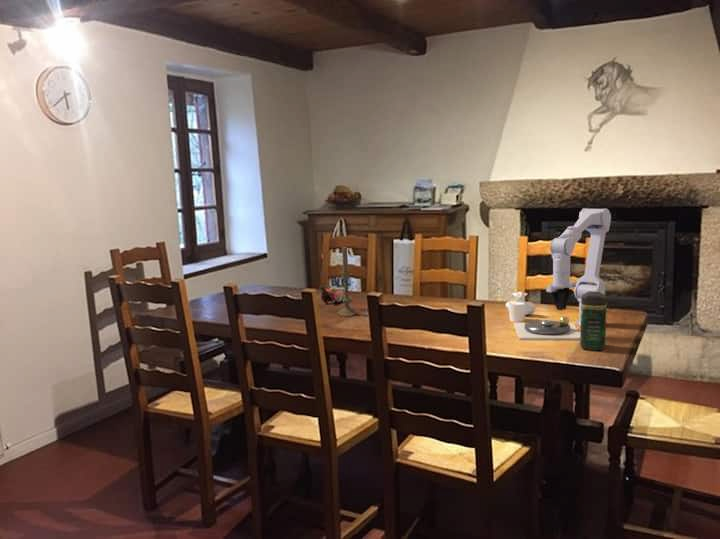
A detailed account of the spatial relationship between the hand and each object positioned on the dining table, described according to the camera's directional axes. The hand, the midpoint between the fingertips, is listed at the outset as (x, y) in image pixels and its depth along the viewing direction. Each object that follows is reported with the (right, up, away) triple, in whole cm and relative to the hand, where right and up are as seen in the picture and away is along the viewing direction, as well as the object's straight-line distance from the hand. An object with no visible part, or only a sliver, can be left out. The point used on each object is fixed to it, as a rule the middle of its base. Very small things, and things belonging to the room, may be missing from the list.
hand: (561, 309), depth 222 cm
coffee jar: (+6, -12, -15) cm, 20 cm away
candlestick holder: (-77, -5, +48) cm, 91 cm away
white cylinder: (-9, -6, +26) cm, 28 cm away
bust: (-6, -5, +35) cm, 35 cm away
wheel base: (-3, -9, +6) cm, 11 cm away
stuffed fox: (-85, -2, +75) cm, 113 cm away
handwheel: (-3, -7, +6) cm, 10 cm away
